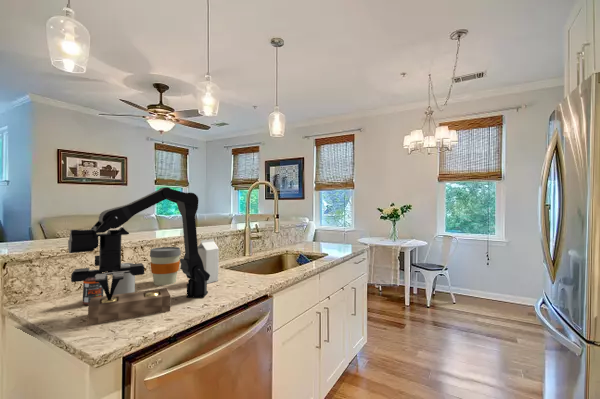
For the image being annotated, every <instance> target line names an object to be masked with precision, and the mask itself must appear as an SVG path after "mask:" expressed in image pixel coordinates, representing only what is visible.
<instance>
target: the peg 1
mask: <svg viewBox="0 0 600 399" xmlns="http://www.w3.org/2000/svg"><path fill="white" fill-rule="evenodd" d="M114 301H117V298H116V297H112V298H111V300H108V299H107V298H105V299H103V300H102V303H107V302H114Z"/></svg>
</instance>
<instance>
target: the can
mask: <svg viewBox="0 0 600 399" xmlns="http://www.w3.org/2000/svg"><path fill="white" fill-rule="evenodd" d="M130 264H134V263H133V262H123V263H122V262H121V268H124V267H130ZM111 276H112V278H113V275H111ZM112 278H111V279H112ZM132 292H136V275H135V276H133V275H132V274H130V273H124V279H122V280H120V281H119V282H118V284H117V286H116V288H115V290H114V293H113V295H117V294H124V293H132Z"/></svg>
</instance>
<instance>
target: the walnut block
mask: <svg viewBox="0 0 600 399" xmlns="http://www.w3.org/2000/svg"><path fill="white" fill-rule="evenodd" d="M148 292H159V295H156V296H149V297H145V294H146V293H148ZM112 297H116V298H117V301H114V302H107V303H102V300H103V299H105V298H107V296H106V295H103V296H102V297H94V298H91V300H90V303H89V305H87V326H91V325H97V324H103V323H107V322H113V321H119V320H125V319H126V320H127V319H131V318H136V317H141V316H147V315H149V316H150V315H152V314H153V315H154V314H158V313H166V312H170V311H171V294H170V292H169V290H168V289H167V287H162V288H157V289H148V290H147V289H146V290H140V291H135V292H132V293H124V294H117V295H112Z"/></svg>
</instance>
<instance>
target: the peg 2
mask: <svg viewBox="0 0 600 399" xmlns="http://www.w3.org/2000/svg"><path fill="white" fill-rule="evenodd" d="M156 295H159V292H148V293H146V294H145V297H149V296H156Z"/></svg>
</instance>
